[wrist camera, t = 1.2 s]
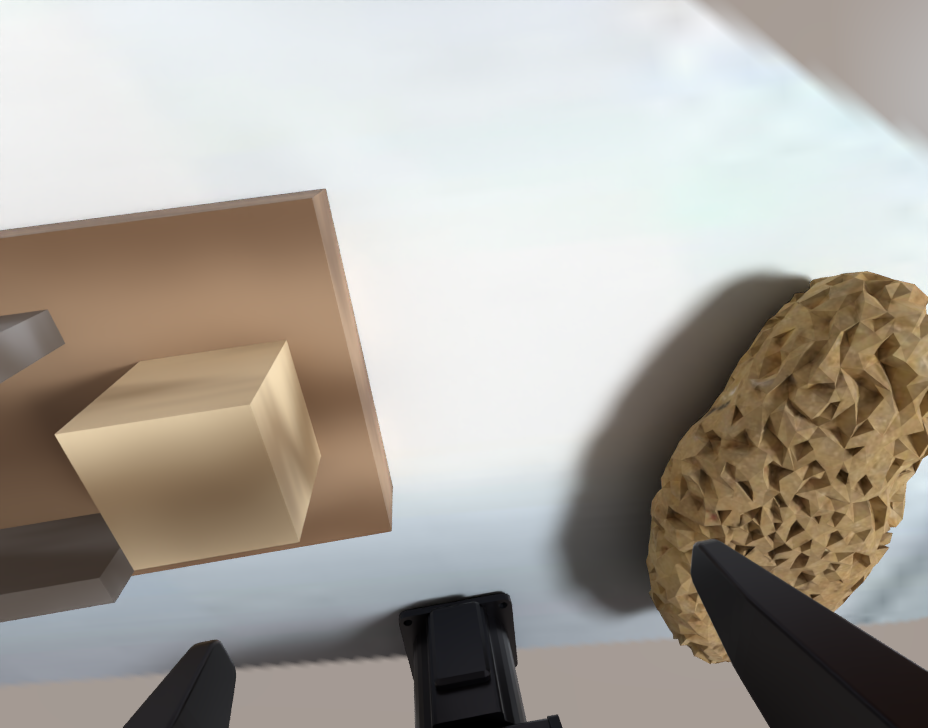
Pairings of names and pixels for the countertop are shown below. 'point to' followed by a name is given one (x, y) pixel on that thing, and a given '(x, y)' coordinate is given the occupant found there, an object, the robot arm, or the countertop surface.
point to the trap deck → (160, 336)
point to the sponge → (800, 451)
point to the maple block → (199, 454)
